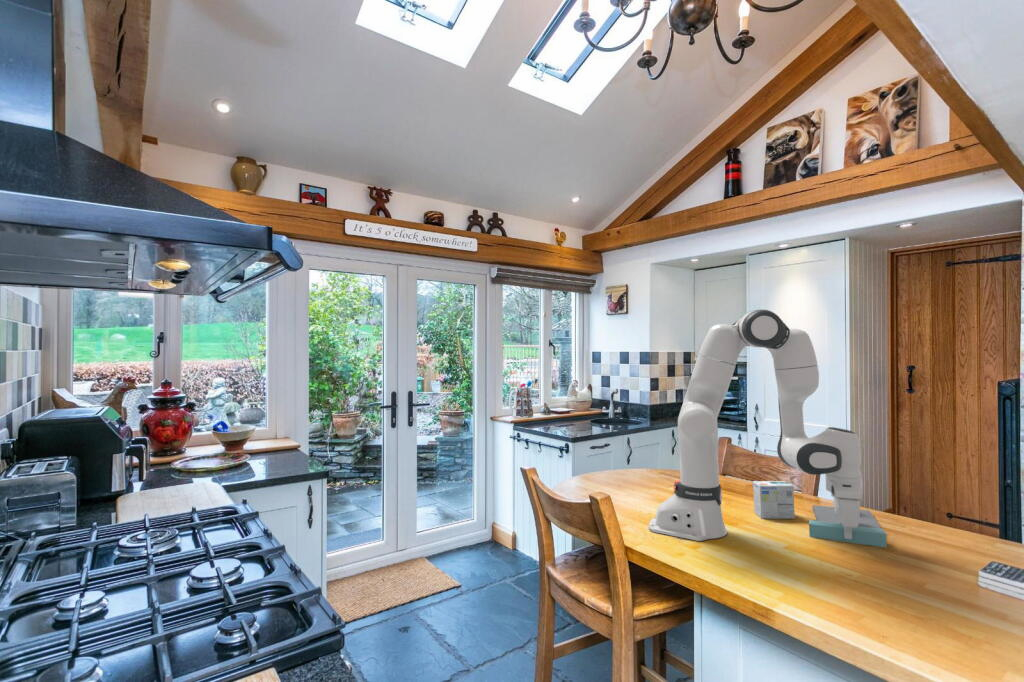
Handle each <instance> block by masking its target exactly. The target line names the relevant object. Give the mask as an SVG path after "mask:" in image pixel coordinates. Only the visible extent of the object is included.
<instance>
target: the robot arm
mask: <svg viewBox="0 0 1024 682" xmlns="http://www.w3.org/2000/svg"><path fill="white" fill-rule="evenodd" d="M746 347H753V348H765V349H767V350H768V351H769V352H770V354H771V358H772V359H773V361H772V362H773V369H774V374H775V381H776V386H777V396H778V413H779V425H780V436H779V439H778V442H777V447H776V449H777V450H776V451H777V456H778V458H779V459H780V461H781V462H782V463H783V464H785V465H786V466H789V467H791V468H794V469H797V470H799V471H800V472H803V473H805V474H808V475H813V476H817V475H818V476H819V475H825V490H826V491H827V492H830V493H831V494H830V496H831V497H833V501H832V502H833V507H834V508H835V510H836V512H837V514H838V517H839V520H840V524H842V526H843V527H844V537H845V538H846V539H852V530H853V528H858V526H859V518H860V510H861V500H863V499H864V498H863V493H864V486H863V484H864V483H863V474H862V470H861V464H862V449H861V443H860V439H859V436H858V435H857V434H856V432H854V431H852V430H850V429H845V428H838V427H833V426H832V427H831V426H830V427H826V429H824V430H823V431H822V432H820V433H819V434H817V435H815V436H811V437H808V435H807V433H806V432H805V427H804V426H805V423H804V411H803V407H804V404H805V401H806V400H807V399H808V398H809V397H811V396H812V395H813V394H814V393H815V392H816V391H817V389H818V388H819V383H820V372H819V366H818V360H817V356H816V351H815V349H814V345H813V342H812V340H811V338H810V335H809V333H807V332H806V331H804V330H802V329H799V328H790V327H788V325H787V324H786V323H785V322H784V321H783V320H782V318H780V316H779V314H777V313H775V312H773V311H772V310H768V309H754V310H751V311H748V312H746V313H745V314H743V315H742V316H740V317H739V318H738V319H737V320H736V321H735V322H734V323H733V324H732V325H731V324H728V323H717V324H714V325H713V326H712V327H710V328H709V330H708V332H707V333H706V336H705V337H704V339H703V341H702V343H701V346H700V348H699V351H698V354H697V358H696V361H695V364H694V367H693V370H692V373H691V376H690V379H689V381H688V386H687V389H686V392H685V396H684V399H683V402H682V405H681V407H680V411H679V415H678V417H677V431H678V432H677V435H678V451H679V469H680V470H679V472H680V475H679V477H680V480H679V479H676V480H675V482H674V483H673V484H674V485H673V493H674V494H672V495H671V496H670V497H668V498H666V499H665V500H664V501H662V502H661V503H660V504H659V506H658V508H657V510H656V514H655V517H653V518H651V519H650V520H649V523H648V529H649V531H651V532H652V533H657V534H661V535H667V536H672V537H677V538H682V539H687V540H693V541H697V542H702V541H705V540H711V539H719V538H722V537H725V536H726V535H727V533H728V532H727V527H726V525H725V522H724V518H723V512H722V511H723V510H722V502H723V501H722V496H723V495H722V488H721V484H720V475H719V474H720V471H719V470H720V468H719V435H718V434H719V433H718V429H719V427H718V417H719V415H720V411H721V408H722V406H723V404H724V400H725V398H726V395H727V394H728V390H729V387H730V384H731V381H732V379H733V375H734V372H735V369H736V365H737V363H738V359H739V356H740V354H741V352H742V351H743V349H745V348H746Z"/></svg>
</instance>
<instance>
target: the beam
mask: <svg viewBox="0 0 1024 682" xmlns="http://www.w3.org/2000/svg"><path fill="white" fill-rule="evenodd" d="M808 521H809V522H808V527H809V528H808V531H809V533H808V534H809V537H810V538H817V539H822V538H823V539H822V540H824V539H825V540H829V539H830V541H838V542H843V543H844V542H845V543H850V544H851V543H852V544H859V545H863V546H864V545H865V546H871V547H872V546H873V547H878V546H879V547H878V548H884V547H886V549H887V547H888V546H887V533H886V531H885V529H884V528H882V529H876V528H869V527H861V526H858V528H853V530H852V539H846V538H845V537H844V527H843V526H842V524H837V523H830V522H822V521H817V520H814V519H813V520H812V519H809V520H808Z"/></svg>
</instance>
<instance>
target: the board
mask: <svg viewBox="0 0 1024 682" xmlns="http://www.w3.org/2000/svg"><path fill="white" fill-rule="evenodd" d="M812 510H813V513H814V517H815V521H822V522H830V523H837V524H840V520H839V517H838V514H837V512H836V510H835V508H834V506H826V505H824V506H823V505H812ZM859 526H861V527H869V528H876V529H883V528H882V527H881V525H880V524H879V522H878V521H877V519H876V517H874V515H873V513H872V512H871V511H870V510H867V509H860V518H859Z"/></svg>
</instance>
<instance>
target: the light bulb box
mask: <svg viewBox="0 0 1024 682" xmlns="http://www.w3.org/2000/svg"><path fill="white" fill-rule="evenodd" d="M752 487H753V489H752V490H753V507H754V513H755V515H757V516H758V517H759V518H760V519H775V520H776V519H783V520H784V519H786V520H787V519H789V520H790V519H793V520H794V519H795V517H796V516H795V495H794V485H793V484H791V483H789V482H787V481H785V480H776V481H775V480H764V481H763V480H753V481H752Z"/></svg>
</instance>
